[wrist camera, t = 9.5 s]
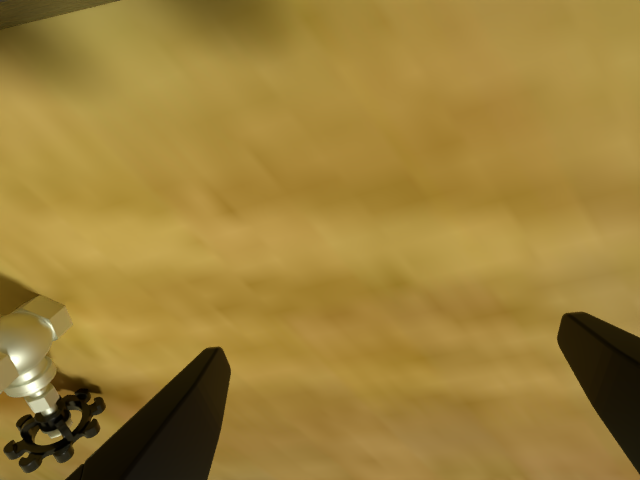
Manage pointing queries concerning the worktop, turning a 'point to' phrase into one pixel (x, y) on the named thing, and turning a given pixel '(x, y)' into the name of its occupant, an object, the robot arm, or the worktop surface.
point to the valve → (41, 383)
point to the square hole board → (40, 9)
